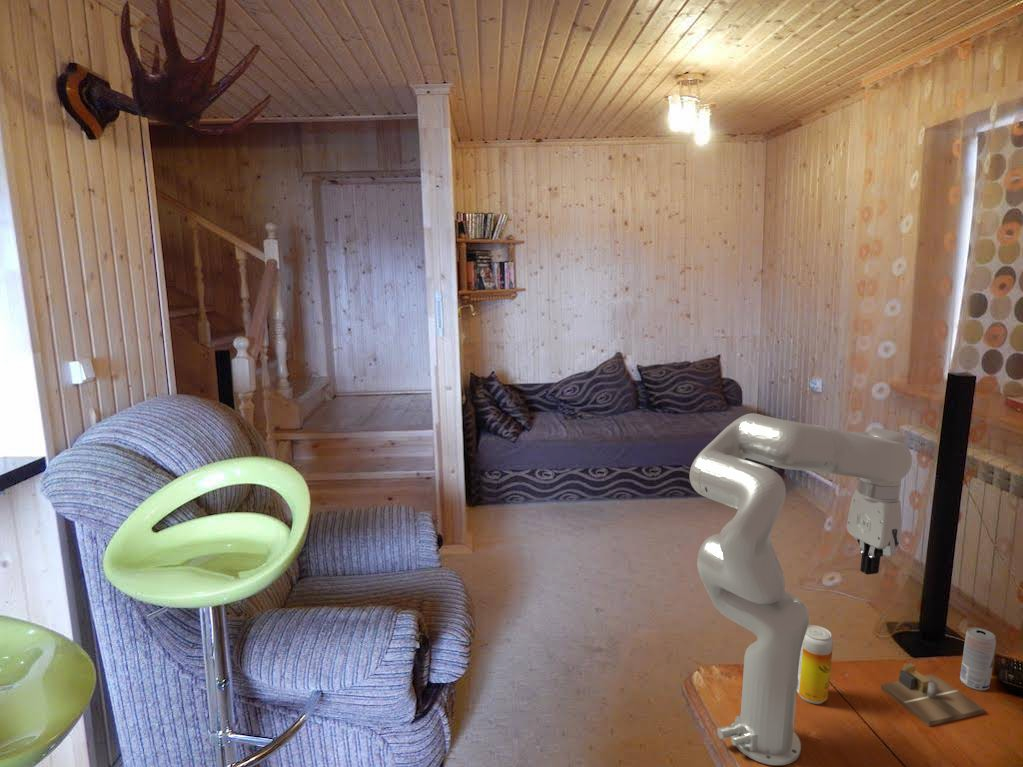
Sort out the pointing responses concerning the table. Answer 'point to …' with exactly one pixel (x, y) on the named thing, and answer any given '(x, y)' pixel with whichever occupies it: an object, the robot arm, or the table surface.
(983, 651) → the energy drink
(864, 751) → the table surface
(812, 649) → the beer can
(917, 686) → the latch bar
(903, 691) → the lock board
